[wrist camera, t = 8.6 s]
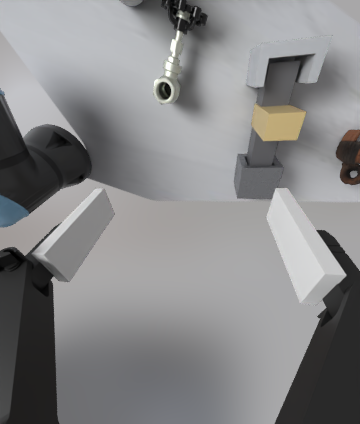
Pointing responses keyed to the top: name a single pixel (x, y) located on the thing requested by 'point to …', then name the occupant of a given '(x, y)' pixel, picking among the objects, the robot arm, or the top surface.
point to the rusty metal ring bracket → (349, 157)
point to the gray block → (256, 179)
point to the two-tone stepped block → (274, 114)
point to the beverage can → (131, 2)
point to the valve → (176, 46)
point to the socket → (289, 58)
